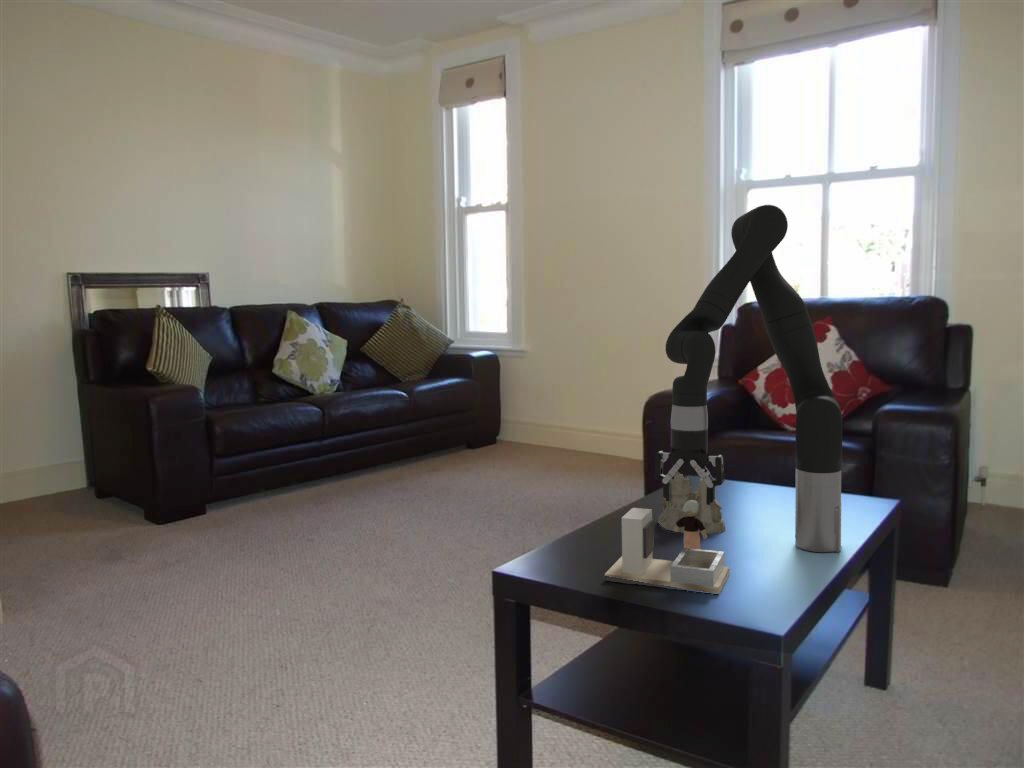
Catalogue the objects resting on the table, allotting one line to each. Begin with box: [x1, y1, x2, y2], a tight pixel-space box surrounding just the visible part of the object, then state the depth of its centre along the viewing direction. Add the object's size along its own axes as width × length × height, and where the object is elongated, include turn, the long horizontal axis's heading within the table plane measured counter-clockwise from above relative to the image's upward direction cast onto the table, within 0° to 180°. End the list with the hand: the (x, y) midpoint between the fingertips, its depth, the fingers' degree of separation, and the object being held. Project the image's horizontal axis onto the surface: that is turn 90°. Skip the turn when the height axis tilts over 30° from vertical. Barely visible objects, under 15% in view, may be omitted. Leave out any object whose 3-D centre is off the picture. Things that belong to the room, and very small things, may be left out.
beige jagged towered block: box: [657, 472, 726, 535], centre depth 192 cm, size 16×16×15 cm
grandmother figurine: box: [674, 500, 708, 550], centre depth 166 cm, size 8×4×13 cm, turn 58°
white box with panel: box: [621, 507, 655, 575], centre depth 158 cm, size 5×8×11 cm, turn 156°
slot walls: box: [670, 547, 725, 587], centre depth 153 cm, size 8×12×3 cm, turn 156°
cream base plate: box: [604, 555, 731, 595], centre depth 156 cm, size 22×12×2 cm, turn 66°
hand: (688, 502), depth 166 cm, fingers open, 8 cm apart
